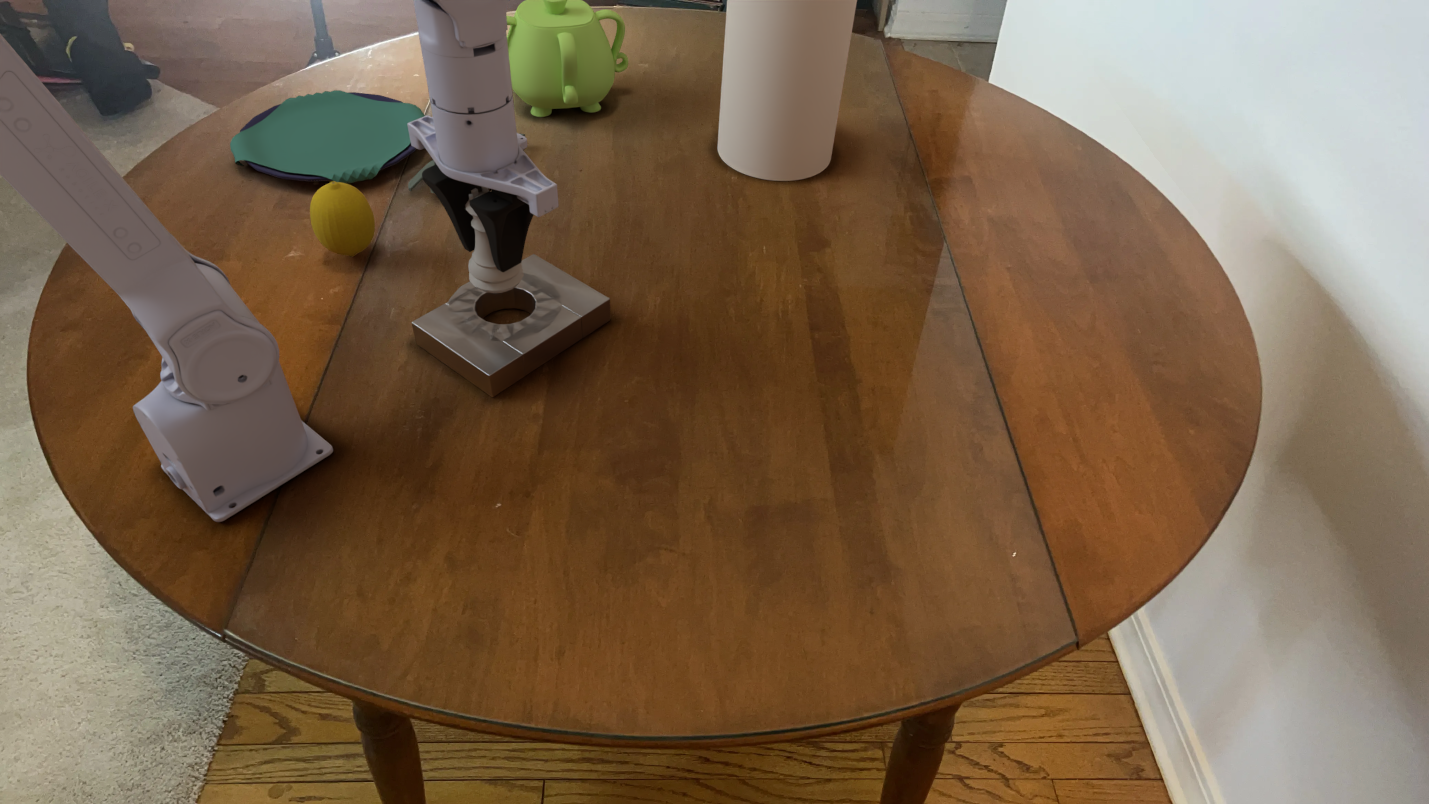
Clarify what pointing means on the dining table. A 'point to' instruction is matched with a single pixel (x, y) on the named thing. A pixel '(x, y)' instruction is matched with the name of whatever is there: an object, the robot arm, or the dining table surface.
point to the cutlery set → (329, 137)
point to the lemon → (342, 218)
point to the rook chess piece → (488, 259)
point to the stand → (511, 326)
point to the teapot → (562, 55)
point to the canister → (782, 85)
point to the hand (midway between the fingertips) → (493, 255)
